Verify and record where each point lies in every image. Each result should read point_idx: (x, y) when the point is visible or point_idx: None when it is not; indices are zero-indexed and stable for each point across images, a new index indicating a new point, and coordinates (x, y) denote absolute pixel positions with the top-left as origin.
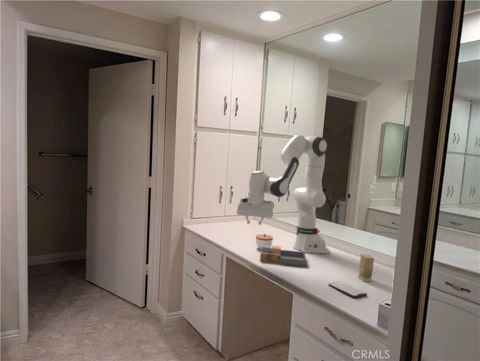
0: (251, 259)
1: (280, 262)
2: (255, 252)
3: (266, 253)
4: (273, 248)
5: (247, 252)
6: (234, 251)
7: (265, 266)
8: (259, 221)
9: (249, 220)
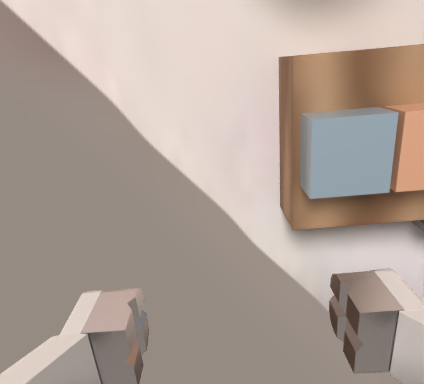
0: (223, 192)
1: (413, 221)
2: (228, 5)
3: (336, 220)
4: (409, 189)
5: (165, 36)
6: (61, 53)
7: (315, 277)
8: (372, 354)
9: (120, 362)
